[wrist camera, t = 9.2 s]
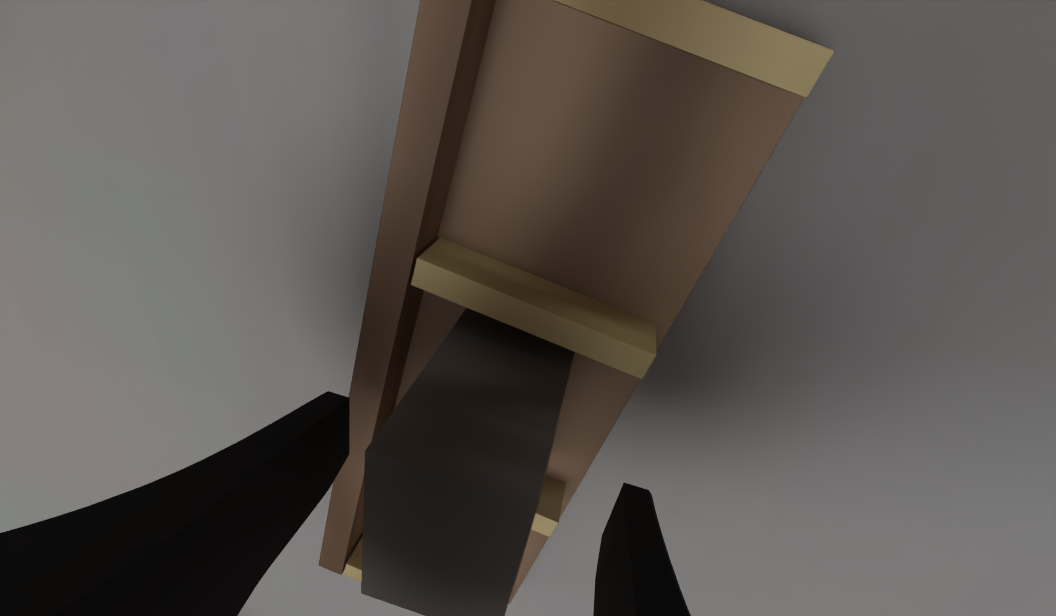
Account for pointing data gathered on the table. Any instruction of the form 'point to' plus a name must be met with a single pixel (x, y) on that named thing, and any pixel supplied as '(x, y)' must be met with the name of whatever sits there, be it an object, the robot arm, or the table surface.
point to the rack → (560, 201)
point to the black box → (462, 471)
